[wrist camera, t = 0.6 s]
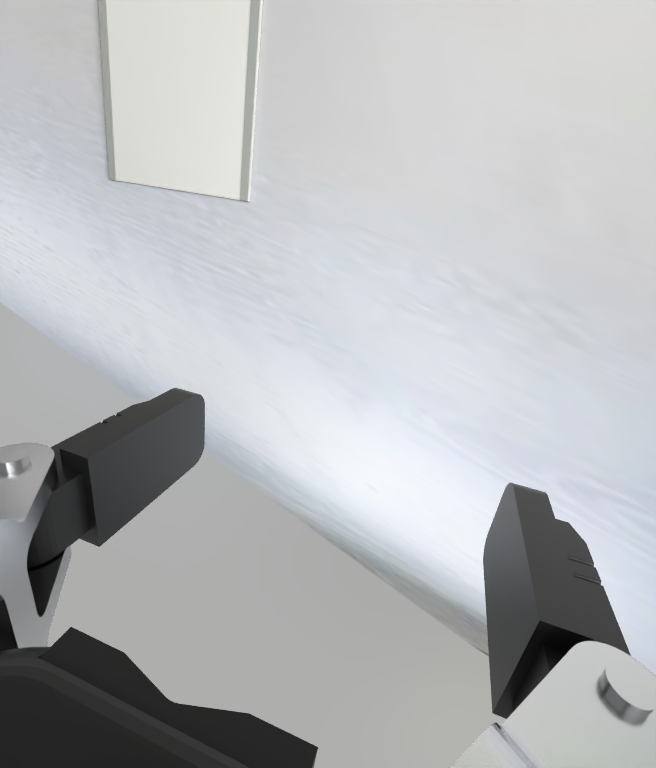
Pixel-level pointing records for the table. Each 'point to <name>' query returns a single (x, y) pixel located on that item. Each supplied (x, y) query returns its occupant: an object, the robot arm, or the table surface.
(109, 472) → the robot arm
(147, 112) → the mat
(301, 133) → the table surface
